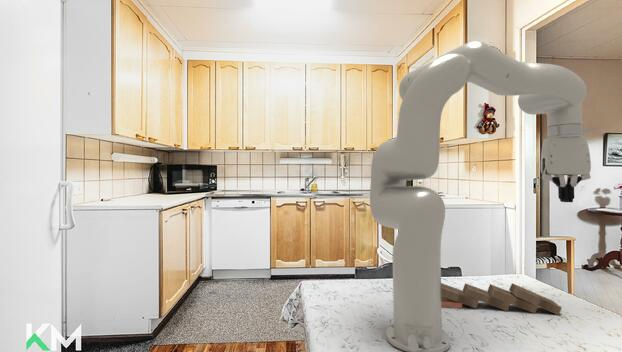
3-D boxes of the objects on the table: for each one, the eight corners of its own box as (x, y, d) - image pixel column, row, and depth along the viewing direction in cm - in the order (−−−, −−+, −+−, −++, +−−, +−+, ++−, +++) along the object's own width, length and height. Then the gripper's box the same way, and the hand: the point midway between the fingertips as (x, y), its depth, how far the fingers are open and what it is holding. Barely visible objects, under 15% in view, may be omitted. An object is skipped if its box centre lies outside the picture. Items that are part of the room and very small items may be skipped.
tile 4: (478, 301, 85) (439, 287, 87) (476, 308, 85) (436, 294, 87) (472, 294, 90) (435, 281, 92) (470, 301, 90) (433, 287, 92)
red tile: (462, 303, 86) (421, 299, 89) (462, 310, 86) (421, 307, 89) (458, 296, 91) (420, 293, 93) (458, 304, 91) (420, 300, 93)
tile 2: (538, 306, 82) (495, 289, 84) (535, 313, 82) (492, 297, 85) (530, 299, 87) (490, 284, 89) (527, 306, 87) (487, 291, 89)
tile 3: (510, 303, 84) (468, 288, 86) (507, 311, 84) (466, 296, 86) (504, 297, 88) (465, 283, 91) (501, 304, 88) (462, 290, 91)
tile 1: (561, 307, 81) (519, 289, 83) (558, 315, 81) (515, 296, 83) (552, 300, 86) (512, 283, 88) (549, 307, 86) (508, 289, 88)
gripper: (589, 133, 91) (591, 201, 90) (527, 136, 94) (529, 201, 94) (606, 129, 83) (608, 202, 83) (538, 132, 87) (540, 202, 87)
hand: (566, 201), depth 88 cm, fingers closed
